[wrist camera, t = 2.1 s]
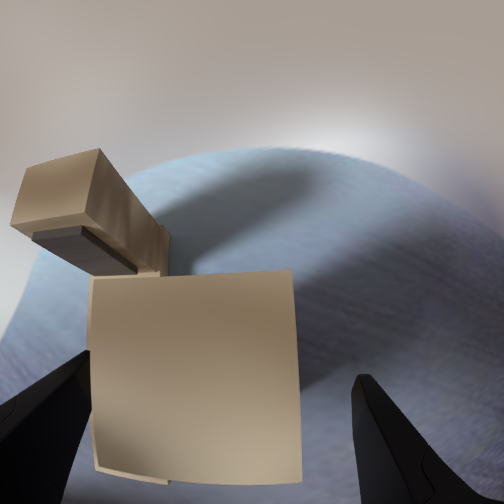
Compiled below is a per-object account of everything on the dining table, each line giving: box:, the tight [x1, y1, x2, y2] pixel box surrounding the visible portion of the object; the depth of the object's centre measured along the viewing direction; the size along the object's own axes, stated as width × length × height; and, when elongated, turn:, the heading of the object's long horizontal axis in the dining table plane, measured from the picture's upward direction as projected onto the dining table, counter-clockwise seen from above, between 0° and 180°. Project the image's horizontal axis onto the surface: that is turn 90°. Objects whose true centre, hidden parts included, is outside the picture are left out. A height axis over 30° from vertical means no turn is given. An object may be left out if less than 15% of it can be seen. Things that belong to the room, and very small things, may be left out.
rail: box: [10, 148, 172, 485], centre depth 13 cm, size 16×5×10 cm, turn 4°
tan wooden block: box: [90, 270, 302, 485], centre depth 11 cm, size 5×4×12 cm
